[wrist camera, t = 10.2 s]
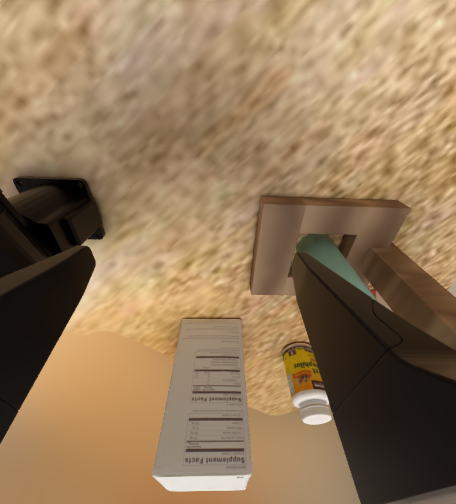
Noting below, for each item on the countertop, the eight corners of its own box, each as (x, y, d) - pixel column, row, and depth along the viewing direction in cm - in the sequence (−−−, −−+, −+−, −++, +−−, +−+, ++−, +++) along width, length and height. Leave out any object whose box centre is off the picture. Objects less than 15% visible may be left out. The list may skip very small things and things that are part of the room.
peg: (289, 251, 25) (348, 392, 13) (314, 226, 23) (410, 364, 11) (313, 265, 27) (387, 405, 14) (338, 243, 25) (449, 382, 12)
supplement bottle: (317, 341, 36) (344, 412, 28) (308, 358, 40) (330, 426, 31) (284, 340, 36) (302, 412, 28) (278, 357, 39) (293, 426, 31)
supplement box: (181, 317, 32) (148, 477, 19) (241, 317, 32) (254, 476, 19) (187, 351, 38) (165, 493, 24) (239, 351, 38) (247, 493, 24)
